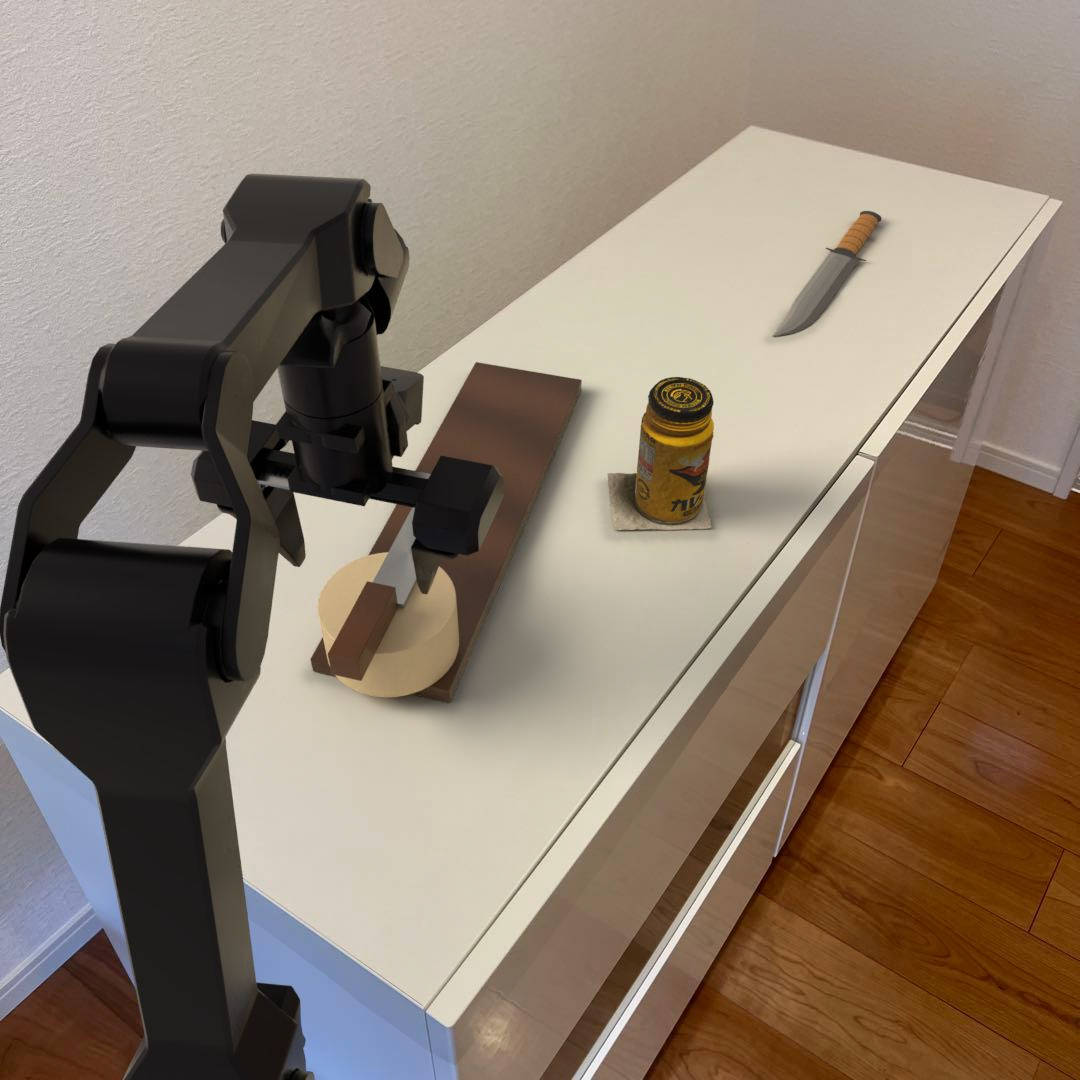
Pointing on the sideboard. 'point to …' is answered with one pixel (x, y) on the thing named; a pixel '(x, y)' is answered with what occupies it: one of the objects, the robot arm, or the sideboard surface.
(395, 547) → the cake knife
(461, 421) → the serving board
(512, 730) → the sideboard surface
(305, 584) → the sideboard surface
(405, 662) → the cake
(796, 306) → the knife
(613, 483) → the condiment
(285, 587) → the sideboard surface
